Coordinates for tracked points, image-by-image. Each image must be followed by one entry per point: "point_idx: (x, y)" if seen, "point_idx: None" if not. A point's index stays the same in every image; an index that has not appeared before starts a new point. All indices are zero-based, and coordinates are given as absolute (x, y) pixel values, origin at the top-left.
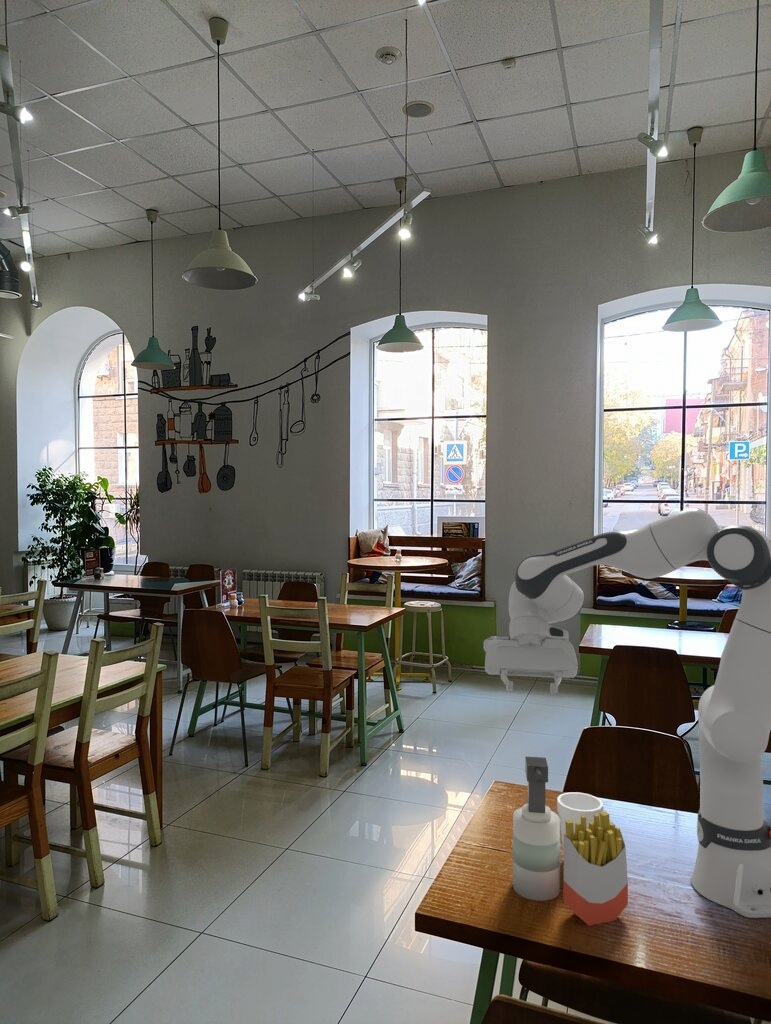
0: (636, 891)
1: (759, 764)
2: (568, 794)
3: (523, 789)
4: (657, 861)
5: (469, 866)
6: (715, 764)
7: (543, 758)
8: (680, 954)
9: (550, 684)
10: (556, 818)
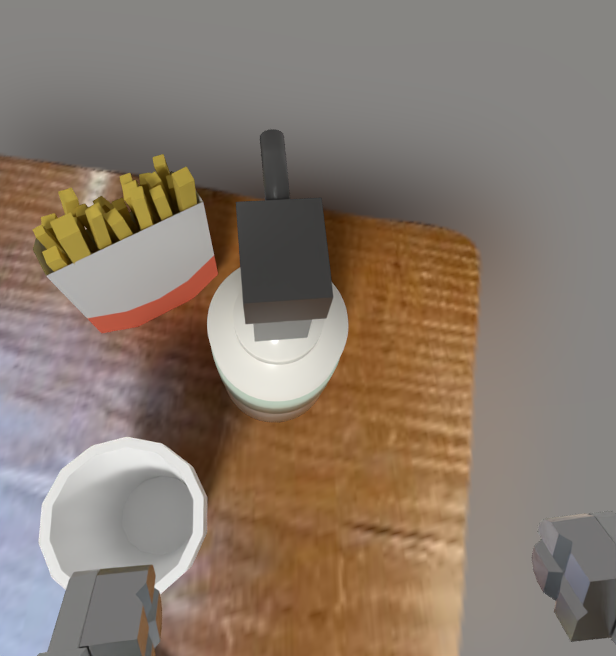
0: (43, 409)
1: None
2: (158, 581)
3: None
4: None
5: (431, 425)
6: None
7: (252, 291)
8: (17, 214)
9: (142, 645)
10: (216, 323)
